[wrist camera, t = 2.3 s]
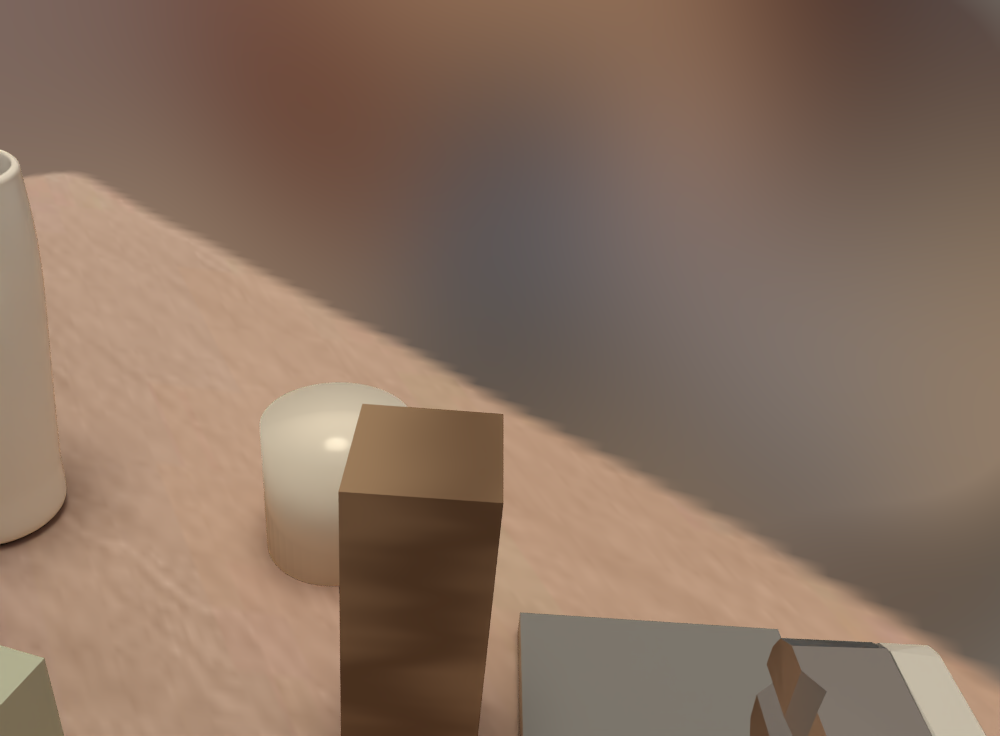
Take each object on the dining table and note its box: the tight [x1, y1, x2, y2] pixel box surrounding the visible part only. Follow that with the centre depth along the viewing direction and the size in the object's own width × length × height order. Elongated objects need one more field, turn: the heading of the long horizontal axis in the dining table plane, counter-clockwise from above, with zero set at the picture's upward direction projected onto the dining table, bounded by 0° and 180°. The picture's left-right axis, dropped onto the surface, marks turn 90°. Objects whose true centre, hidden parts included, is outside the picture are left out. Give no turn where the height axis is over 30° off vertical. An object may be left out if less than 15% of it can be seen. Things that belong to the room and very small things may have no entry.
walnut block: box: [338, 404, 503, 736], centre depth 25 cm, size 4×4×12 cm
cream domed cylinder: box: [260, 382, 407, 586], centre depth 35 cm, size 6×6×6 cm
